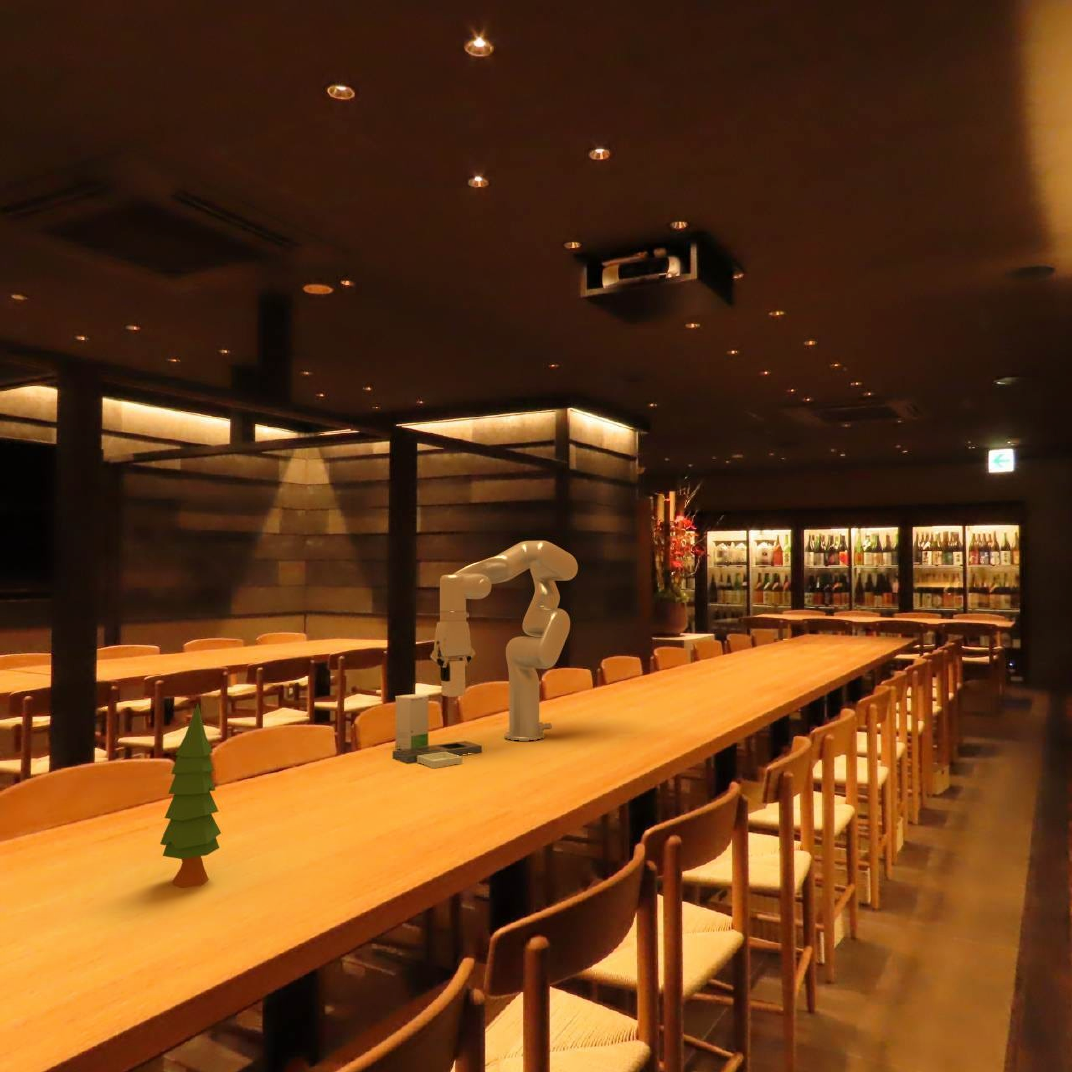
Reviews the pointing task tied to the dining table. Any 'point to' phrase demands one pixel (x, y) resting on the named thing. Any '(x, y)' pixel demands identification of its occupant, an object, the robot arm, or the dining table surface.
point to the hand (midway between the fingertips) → (453, 679)
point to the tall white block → (455, 679)
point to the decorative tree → (192, 807)
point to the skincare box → (411, 721)
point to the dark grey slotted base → (436, 750)
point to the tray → (439, 759)
